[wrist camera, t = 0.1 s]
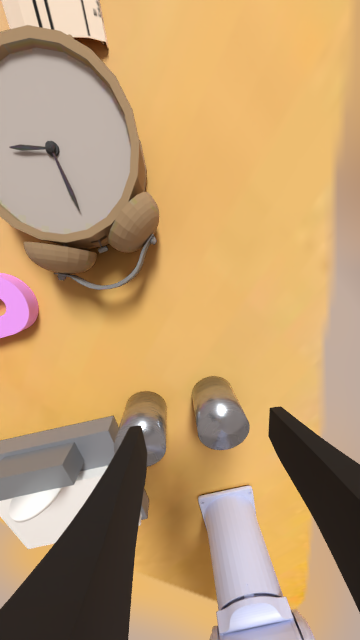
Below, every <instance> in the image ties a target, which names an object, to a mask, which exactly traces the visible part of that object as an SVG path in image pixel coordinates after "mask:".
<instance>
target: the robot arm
mask: <svg viewBox="0 0 360 640" xmlns="http://www.w3.org/2000/svg"><path fill="white" fill-rule="evenodd" d="M269 438H270V440H271V442H272V445H273V447H274V449H275V451H276V453H277V455H278V457H279V459H280V461H281V463H282V464H283V466H284V468H285V470H286V471H287V473H288V475H289V476H290V478H291V480H292V482H293V483H294V485H295V487H296V488H297V490H298V492H299V493H300V495H301V497H302V499H303V500H304V502H305V504H306V505H307V507H308V509H309V511H310V512H311V514H312V516H313V518H314V520H315V521H316V523H317V525H318V527H319V529H320V531H321V533H322V535H323V537H324V539H325V541H326V543H327V545H328V547H329V549H330V551H331V553H332V555H333V557H334V559H335V561H336V563H337V566H338V568H339V570H340V572H341V574H342V576H343V578H344V580H345V582H346V584H347V586H348V588H349V590H350V593H351V595H352V597H353V599H354V601H355V603H356V606H357V608H358V610H359V612H360V464H358V463H357V462H355V461H354V460H352V459H351V458H349V457H348V456H346V455H345V454H343V453H342V452H341V451H339V450H338V449H336V448H335V447H333V446H332V445H331V444H329V443H328V442H326V441H325V440H324V439H322V438H321V437H320V436H318V435H317V434H316V433H314V432H313V431H312V430H310V429H309V428H308V427H306V426H305V425H304V424H302V423H301V422H300V421H299V420H297V419H296V418H295V417H293V416H292V415H291V414H290V413H288V412H287V411H286V410H285V409H283V408H282V407H273V408H270V416H269ZM146 468H147V448H146V444H145V439H144V435H143V430H142V426H141V425H138V426H131V427H129V429H128V431H127V433H126V435H125V437H124V438H123V440H122V442H121V444H120V446H119V448H118V450H117V451H116V453H115V455H114V457H113V458H112V460H111V462H110V464H109V465H108V467H107V469H106V470H105V472H104V474H103V475H102V477H101V478H100V480H99V482H98V483H97V485H96V486H95V488H94V489H93V491H92V493H91V494H90V496H89V497H88V499H87V500H86V502H85V503H84V504H83V506H82V507H81V509H80V510H79V512H78V513H77V514H76V516H75V517H74V519H73V520H72V521H71V523H70V524H69V525H68V527H67V528H66V529H65V531H64V532H63V533H62V535H61V536H60V537H59V539H58V540H57V541H56V543H55V544H54V545H53V547H52V548H51V549H50V550H49V552H48V553H47V554H46V555H45V557H44V558H43V559H42V560H41V562H40V563H39V564H38V565H37V566H36V568H35V569H34V570H33V571H32V572H31V574H30V575H29V576H28V577H27V578H26V580H25V581H24V582H23V583H22V584H21V586H20V587H19V588H18V589H17V590H16V592H15V593H14V594H13V595H12V596H11V598H10V599H9V600H8V601H7V602H6V603H5V604H4V606H3V607H2V608H1V609H0V640H128V633H129V619H130V606H131V593H132V581H133V569H134V558H135V547H136V539H137V532H138V525H139V519H140V512H141V506H142V499H143V492H144V486H145V479H146ZM198 502H199V505H200V508H201V512H202V515H203V519H204V522H205V526H206V529H207V533H208V539H209V546H210V553H211V560H212V567H213V574H214V581H215V588H216V595H217V602H218V609H219V611H217V612H216V613H217V620H218V626H214V627H213V629H212V634H211V637H210V640H315V638H314V636H313V634H312V631H311V629H310V627H309V625H308V623H307V621H306V620H305V619H304V618H303V617H302V616H301V614H299V612H298V611H297V610H296V609H292V610H291V609H290V607H289V604H288V601H287V598H286V597H283V594H282V591H281V589H280V586H279V583H278V580H277V577H276V574H275V571H274V568H273V565H272V562H271V559H270V556H269V553H268V550H267V548H266V545H265V542H264V539H263V536H262V533H261V530H260V527H259V524H258V521H257V518H256V511H255V504H254V497H253V490H252V487H251V486H243V487H239V488H234V489H229V490H225V491H220V492H215V493H211V494H206V495H201V496H199V497H198Z"/></svg>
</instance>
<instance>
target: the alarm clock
mask: <svg viewBox="0 0 360 640" xmlns="http://www.w3.org/2000/svg"><path fill="white" fill-rule="evenodd" d="M146 173H147V170H146V165H145V160H144V156H143V151H142V146H141V142H140V140H139V137H138V133H137V129H136V124H135V119H134V115H133V111H132V108H131V106H130V104H129V102H128V100H127V98H126V96H125V94H124V92H123V90H122V88H121V86H120V84H119V82H118V80H117V78H116V76H115V75H114V74H113V73H112V72H111V71H110V70H109V68H108V67H107V66H106V65H105V64H104V63H103V62H102V61H101V60H100V58H99V57H98V56H97V55H96V54H95V53H94V52H93V51H92V50H91V49H90V48H88V47H87V46H85V45H83V44H82V43H80V42H78V41H77V40H75V39H74V38H73V36H72V35H70V34H68V35H66V34H65V33H63V32H61V31H58V30H52V29H47V28H41V27H36V26H30V25H26V26H22V27H18V28H14V29H9V30H5V31H1V32H0V217H2V218H3V219H4V220H5V221H6V222H8V223H9V224H10V225H11V226H12V227H14V228H16V229H18V230H20V231H22V232H25V233H27V234H29V235H31V236H33V237H36V238H38V239H40V240H45V241H50V242H54V243H57V244H60V245H62V246H59V245H52V244H45V243H37V242H24V248H25V251H26V253H27V255H28V256H29V258H30V259H31V260H32V261H33V262H34V263H36V264H37V265H39V266H40V267H42V268H45V269H47V270H50V271H53V272H58V273H54V274H58V276H57V277H58V279H59V280H65V279H66V276H67V277H70V278H72V279H74V280H75V281H77V282H78V283H80V284H82V285H84V286H86V287H89V288H93V289H98V290H100V289H111V288H115V287H119V286H122V285H124V284H126V283H128V282H129V281H130V280H132V279H133V278H134V277H135V276H136V275H137V274H138V272H139V271H140V269H141V267H142V265H143V262H144V258H145V255H146V252H147V249H148V247H149V245H150V243H151V244H153V245H155V244H156V242H157V240H156V238H155V236H154V233H155V231H156V229H157V226H158V223H159V209H158V206H157V204H156V202H155V201H154V199H153V198H152V196H151V195H150V194H149V193H148V192H145V189H146ZM107 244H110V245H111V246H112V247H113V248H115V249H116V250H118V251H121V252H129V253H130V252H135V251H137V250H139V249H141V248H142V247H143V249H142V251H141V254H140V258H139V261H138V263H137V266H136V267H135V269H134V270H133V272H132V273H131V274H130V275H128V276H127V277H126V278H125V279H123V280H122V281H120V282H118V283H116V284H112V285H106V286H101V285H95V284H92V283H90V282H87V281H86V280H84V279H82V278H80V277H78V276H76V275H71V274H75V273H81V272H85V271H87V270H89V269H90V268H91V267H92V266H93V265H94V263H95V261H96V257H97V253H94V252H91V251H86V250H81V249H89V248H94V247H99V246H101V248H99V249H98V252H99V253H103V252H105V251H108V248H107V246H104V247H103V245H107ZM71 247H73V248H71ZM76 248H81V249H76Z"/></svg>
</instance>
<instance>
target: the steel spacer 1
mask: <svg viewBox="0 0 360 640" xmlns="http://www.w3.org/2000/svg"><path fill="white" fill-rule="evenodd" d="M166 409H167V408H166V403H165V401H164V399H163V398H162V397H161V396H160V395H158V394H156V393H153V392H149V391H144V392H139V393H136V394H134V395H133V396H131V397H130V398H129V400H128V401H127V404H126V407H125V410H124V413H123V417H122V420H121V423H120V427H119V430H118V433H117V436H116V440H115V443H114V453H116V451H117V450H118V448H119V446H120V444H121V442H122V440H123V438H124V437H125V435H126V433H127V431H128V429H129V427H131V426H138V425H141V426H142V430H143V435H144V439H145V444H146V448H147V466H151V465H153V464H155V463H157V462H158V461H160V460H161V459H162V457H163V456H164V454H165V451H166Z"/></svg>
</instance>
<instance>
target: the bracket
mask: <svg viewBox="0 0 360 640" xmlns="http://www.w3.org/2000/svg"><path fill="white" fill-rule="evenodd" d="M0 299H1V300H2V301H3V302H4V303H5V305H6V313H5V314H4V315H2V316H0V338H3V337H6V336H10V335H13V334H16V333H18V332H20V331H22V330H24V329H26V328H28V327H30V326H31V325H32V324H33V323H34V322H35V321H36V319H37V316H38V311H39V308H38V302H37V299H36V297H35V295H34V293H33V291H32V290H31V289H30V288H29V287H28V286H27V285H26V284H25V283H24V282H23V281H21V280H20V279H18V278H16V277H14V276H12V275H9V274H4V273H0Z"/></svg>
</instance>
